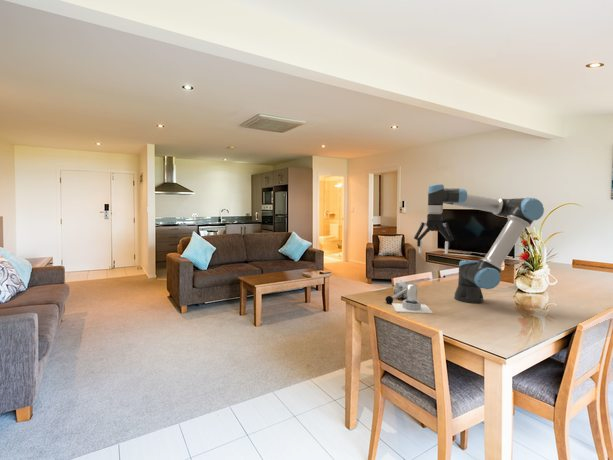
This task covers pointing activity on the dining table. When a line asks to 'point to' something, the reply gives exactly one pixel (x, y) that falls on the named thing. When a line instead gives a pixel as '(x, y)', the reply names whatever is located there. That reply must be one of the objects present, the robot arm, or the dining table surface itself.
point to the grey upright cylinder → (412, 293)
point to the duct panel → (411, 307)
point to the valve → (398, 291)
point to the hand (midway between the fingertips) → (433, 253)
